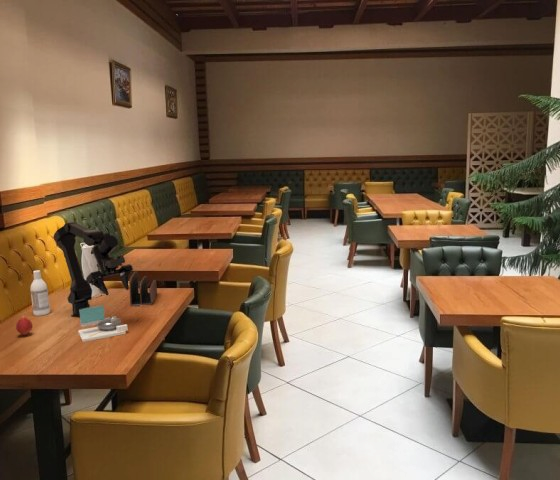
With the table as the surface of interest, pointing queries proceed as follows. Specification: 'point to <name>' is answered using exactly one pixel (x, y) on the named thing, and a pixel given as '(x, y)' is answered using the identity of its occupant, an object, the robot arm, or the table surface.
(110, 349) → the table surface
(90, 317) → the cam foot
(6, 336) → the table surface
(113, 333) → the plate
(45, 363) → the table surface
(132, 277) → the letter holder
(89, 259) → the skyscraper
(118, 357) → the table surface
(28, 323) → the onion
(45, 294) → the bath foam
